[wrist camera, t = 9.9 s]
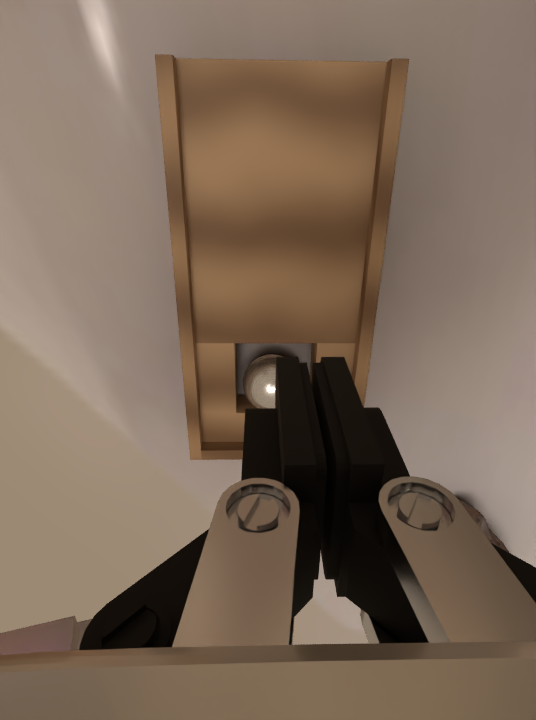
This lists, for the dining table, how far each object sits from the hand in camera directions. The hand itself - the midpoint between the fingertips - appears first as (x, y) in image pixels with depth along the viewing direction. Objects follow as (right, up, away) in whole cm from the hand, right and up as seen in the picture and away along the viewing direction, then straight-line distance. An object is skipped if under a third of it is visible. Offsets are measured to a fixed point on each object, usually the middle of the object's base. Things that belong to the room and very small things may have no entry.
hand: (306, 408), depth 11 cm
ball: (-1, 0, +19) cm, 19 cm away
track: (0, +6, +18) cm, 19 cm away
